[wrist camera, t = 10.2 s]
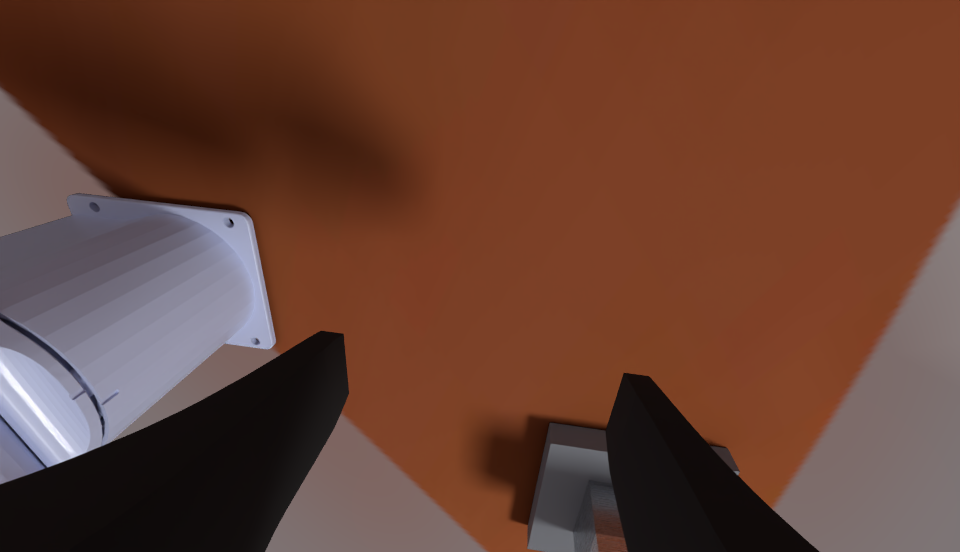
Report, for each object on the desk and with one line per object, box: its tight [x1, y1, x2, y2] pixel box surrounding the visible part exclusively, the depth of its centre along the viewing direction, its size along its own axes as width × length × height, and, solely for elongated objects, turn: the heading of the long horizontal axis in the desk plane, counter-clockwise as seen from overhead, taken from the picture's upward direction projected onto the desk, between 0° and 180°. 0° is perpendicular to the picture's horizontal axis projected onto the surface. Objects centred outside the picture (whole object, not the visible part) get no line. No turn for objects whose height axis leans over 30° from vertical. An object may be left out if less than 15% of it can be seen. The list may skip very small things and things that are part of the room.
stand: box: [527, 423, 740, 552], centre depth 24 cm, size 10×10×2 cm
